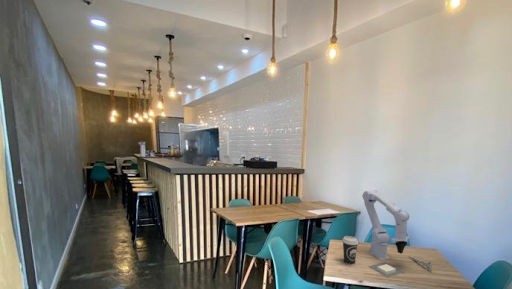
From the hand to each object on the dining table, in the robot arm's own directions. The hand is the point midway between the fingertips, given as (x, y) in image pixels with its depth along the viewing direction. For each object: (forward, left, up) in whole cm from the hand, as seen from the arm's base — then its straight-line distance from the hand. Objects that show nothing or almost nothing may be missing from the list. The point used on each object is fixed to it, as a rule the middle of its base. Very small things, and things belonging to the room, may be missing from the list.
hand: (400, 252), depth 149 cm
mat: (-1, -11, -9) cm, 14 cm away
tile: (+1, -9, -7) cm, 12 cm away
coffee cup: (-16, -25, -9) cm, 31 cm away
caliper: (+3, +15, -9) cm, 18 cm away
